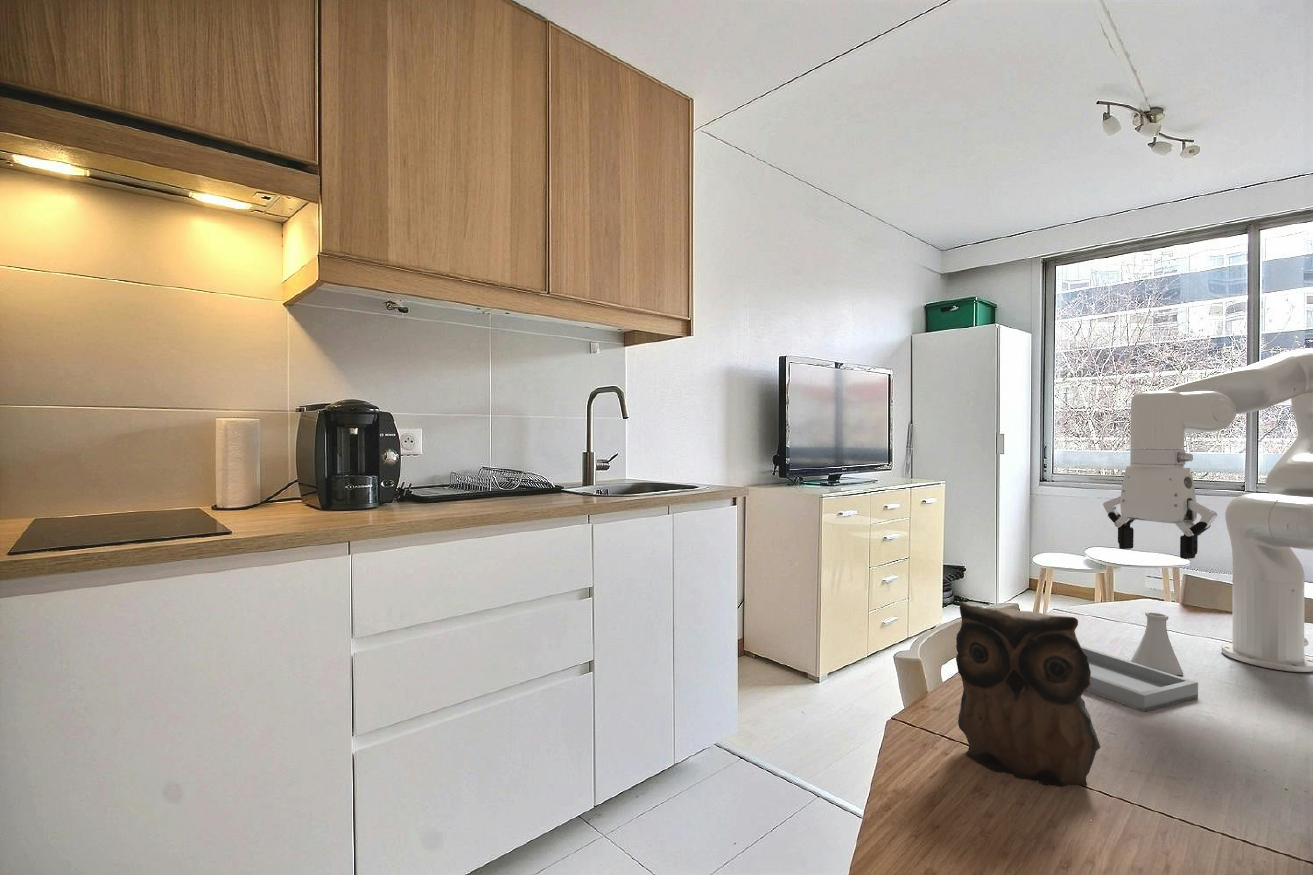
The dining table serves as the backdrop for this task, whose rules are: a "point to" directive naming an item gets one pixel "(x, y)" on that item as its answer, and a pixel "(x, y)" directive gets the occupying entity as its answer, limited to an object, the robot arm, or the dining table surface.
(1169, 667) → the flask
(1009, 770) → the owl
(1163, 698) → the tray
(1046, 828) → the dining table surface
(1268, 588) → the robot arm
